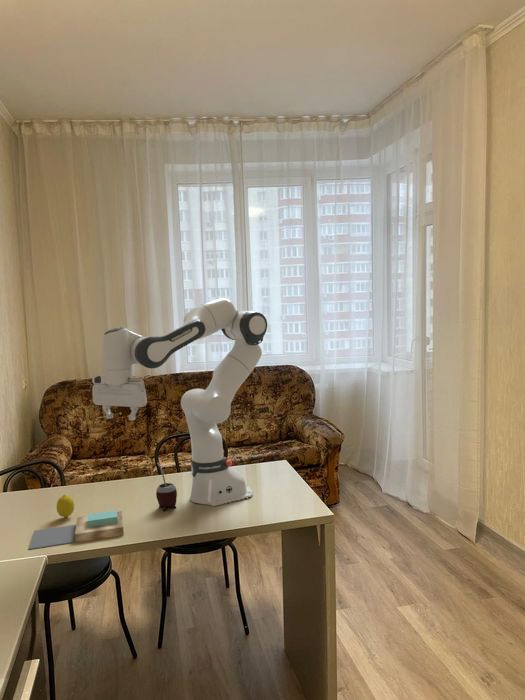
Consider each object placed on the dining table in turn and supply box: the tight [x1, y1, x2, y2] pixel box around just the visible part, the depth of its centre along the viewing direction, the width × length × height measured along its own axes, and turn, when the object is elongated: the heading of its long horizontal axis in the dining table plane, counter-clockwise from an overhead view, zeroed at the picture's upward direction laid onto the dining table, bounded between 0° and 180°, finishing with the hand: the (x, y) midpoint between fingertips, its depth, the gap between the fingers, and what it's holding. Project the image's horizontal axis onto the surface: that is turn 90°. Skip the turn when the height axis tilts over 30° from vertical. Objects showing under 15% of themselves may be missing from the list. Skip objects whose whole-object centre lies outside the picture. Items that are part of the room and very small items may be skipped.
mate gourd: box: [155, 461, 178, 512], centre depth 186 cm, size 8×8×15 cm
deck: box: [75, 510, 125, 543], centre depth 170 cm, size 14×14×2 cm
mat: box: [28, 523, 76, 550], centre depth 166 cm, size 13×14×1 cm
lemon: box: [56, 494, 75, 519], centre depth 181 cm, size 6×6×8 cm
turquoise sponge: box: [87, 509, 118, 527], centre depth 170 cm, size 9×6×2 cm, turn 106°
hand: (120, 419), depth 177 cm, fingers open, 8 cm apart
